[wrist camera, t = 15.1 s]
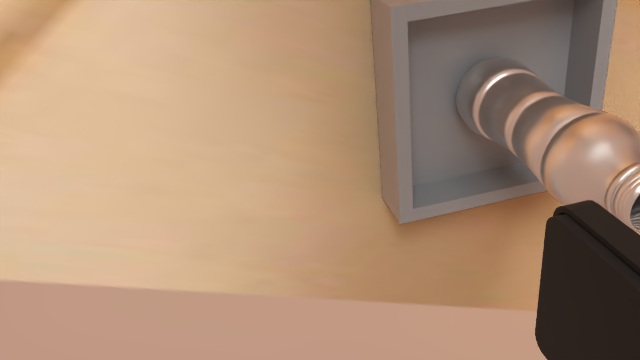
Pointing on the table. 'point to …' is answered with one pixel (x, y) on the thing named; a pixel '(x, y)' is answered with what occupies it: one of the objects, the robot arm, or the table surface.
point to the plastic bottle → (555, 136)
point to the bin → (443, 81)
